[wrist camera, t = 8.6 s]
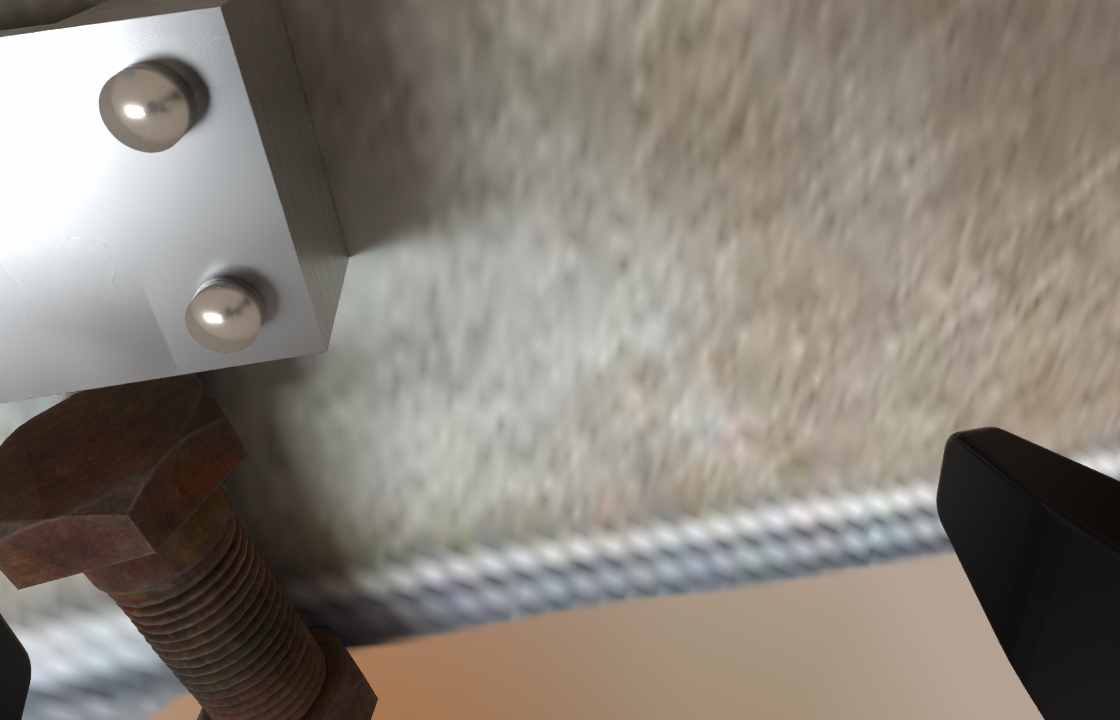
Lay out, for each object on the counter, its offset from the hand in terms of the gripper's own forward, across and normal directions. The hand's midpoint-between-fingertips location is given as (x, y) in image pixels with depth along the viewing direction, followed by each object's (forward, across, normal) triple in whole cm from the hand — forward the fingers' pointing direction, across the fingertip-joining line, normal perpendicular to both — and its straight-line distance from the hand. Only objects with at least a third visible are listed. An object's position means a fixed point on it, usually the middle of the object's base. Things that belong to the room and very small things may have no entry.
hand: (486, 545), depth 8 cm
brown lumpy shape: (+12, +8, +12) cm, 19 cm away
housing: (+12, +8, -1) cm, 14 cm away
